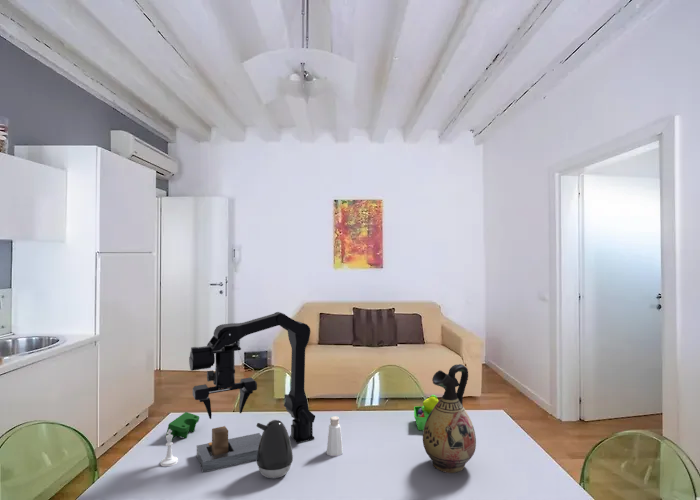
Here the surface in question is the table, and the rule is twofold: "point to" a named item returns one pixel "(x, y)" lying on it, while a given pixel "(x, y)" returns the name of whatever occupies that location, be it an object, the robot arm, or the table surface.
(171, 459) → the chess piece
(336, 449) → the pepper shaker
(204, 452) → the grey peg hole board
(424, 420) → the fruit basket
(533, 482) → the table surface
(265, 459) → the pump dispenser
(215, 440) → the walnut peg
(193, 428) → the clamp
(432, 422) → the ceramic jug
